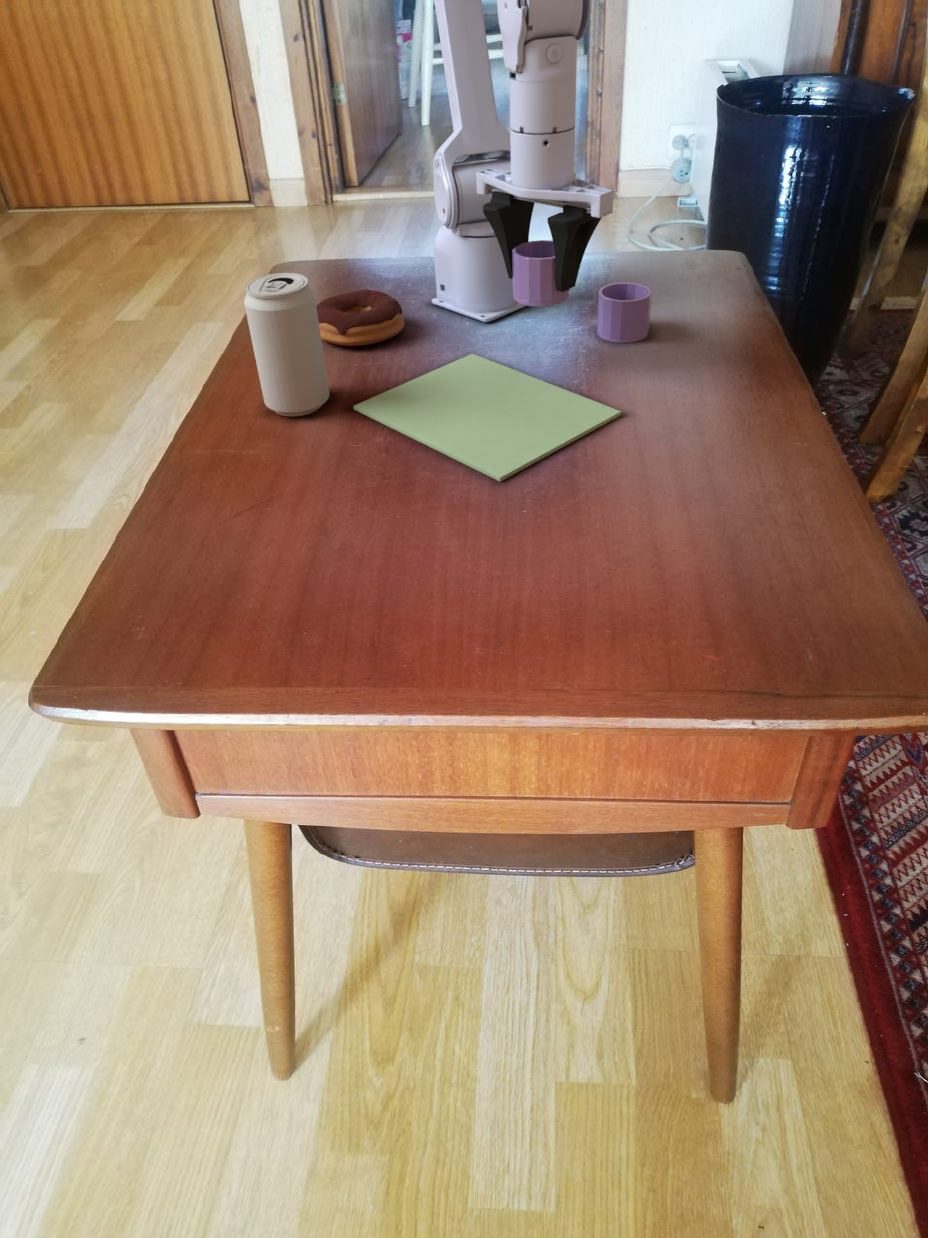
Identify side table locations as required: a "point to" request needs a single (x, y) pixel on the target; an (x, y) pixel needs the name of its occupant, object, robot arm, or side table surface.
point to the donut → (359, 318)
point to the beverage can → (287, 343)
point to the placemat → (487, 415)
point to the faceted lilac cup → (623, 312)
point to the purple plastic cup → (536, 274)
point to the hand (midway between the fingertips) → (541, 282)
